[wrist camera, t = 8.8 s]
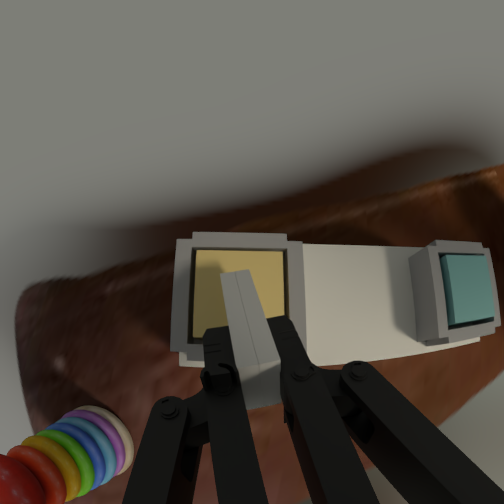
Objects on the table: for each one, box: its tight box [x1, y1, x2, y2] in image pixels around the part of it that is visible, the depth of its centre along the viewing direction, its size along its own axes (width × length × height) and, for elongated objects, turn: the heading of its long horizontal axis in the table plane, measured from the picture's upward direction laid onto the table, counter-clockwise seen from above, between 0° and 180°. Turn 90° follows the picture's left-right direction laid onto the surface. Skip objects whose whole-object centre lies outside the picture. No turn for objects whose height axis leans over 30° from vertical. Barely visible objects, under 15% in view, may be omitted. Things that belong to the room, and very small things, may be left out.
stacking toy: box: [0, 405, 134, 504], centre depth 14 cm, size 8×8×19 cm
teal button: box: [439, 255, 495, 326], centre depth 20 cm, size 5×5×4 cm
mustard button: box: [193, 250, 284, 340], centre depth 19 cm, size 5×5×4 cm
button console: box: [170, 232, 501, 367], centre depth 23 cm, size 26×9×11 cm, turn 90°
